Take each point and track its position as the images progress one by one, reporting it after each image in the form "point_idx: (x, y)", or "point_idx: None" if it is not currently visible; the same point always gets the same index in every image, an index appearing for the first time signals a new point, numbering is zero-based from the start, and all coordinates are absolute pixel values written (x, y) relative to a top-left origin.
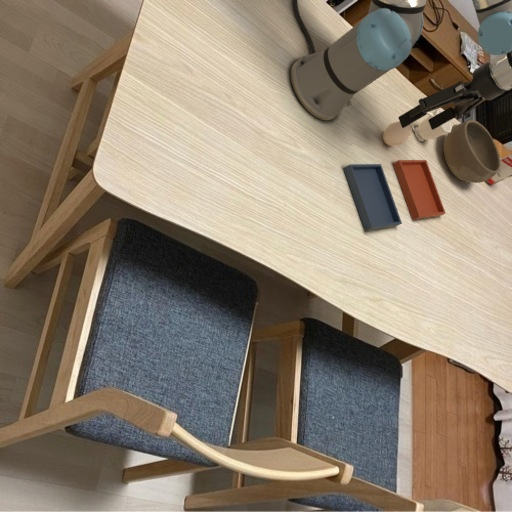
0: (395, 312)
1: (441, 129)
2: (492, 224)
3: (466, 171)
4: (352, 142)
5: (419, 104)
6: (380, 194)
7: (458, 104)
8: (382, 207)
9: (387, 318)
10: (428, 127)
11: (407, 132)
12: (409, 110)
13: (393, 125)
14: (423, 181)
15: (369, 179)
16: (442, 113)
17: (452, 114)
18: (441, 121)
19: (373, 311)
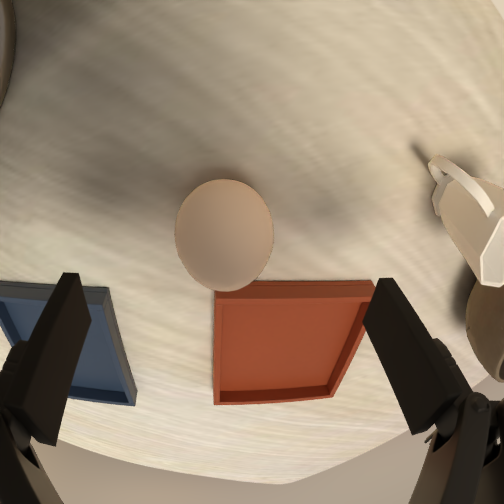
0: (95, 443)
1: (476, 272)
2: (474, 370)
3: (473, 347)
4: (35, 214)
5: (7, 390)
6: (100, 348)
7: (441, 473)
8: (98, 368)
9: (77, 441)
10: (458, 222)
11: (207, 287)
12: (34, 327)
13: (185, 213)
14: (331, 331)
15: None
16: (414, 351)
17: (419, 420)
18: (389, 361)
19: None
